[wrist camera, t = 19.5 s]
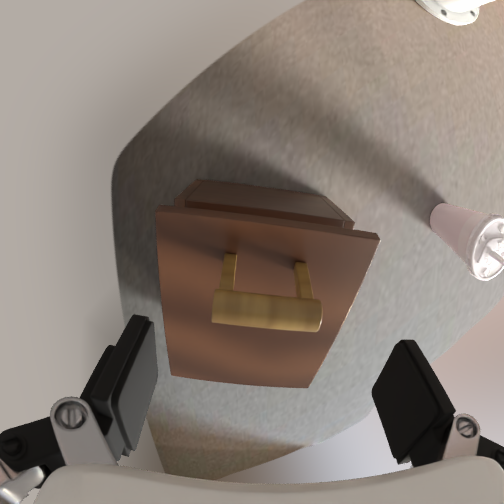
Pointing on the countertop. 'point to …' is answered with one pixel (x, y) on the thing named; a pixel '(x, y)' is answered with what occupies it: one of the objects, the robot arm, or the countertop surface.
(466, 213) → the smoothie
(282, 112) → the countertop surface
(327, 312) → the lid
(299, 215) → the chest
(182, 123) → the countertop surface
